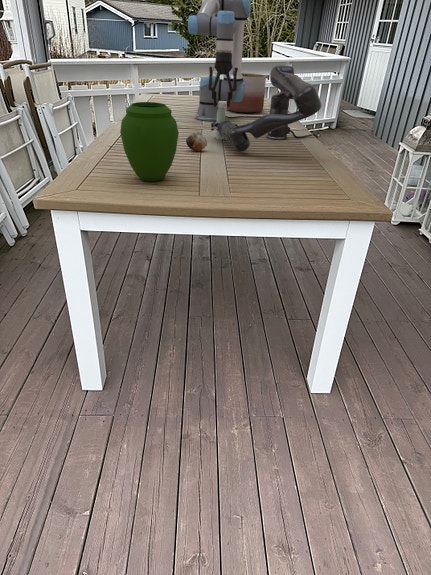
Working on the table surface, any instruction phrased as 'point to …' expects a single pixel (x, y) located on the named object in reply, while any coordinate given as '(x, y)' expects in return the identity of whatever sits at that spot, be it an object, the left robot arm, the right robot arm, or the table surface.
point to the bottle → (220, 121)
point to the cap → (221, 104)
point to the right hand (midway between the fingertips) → (219, 123)
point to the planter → (250, 95)
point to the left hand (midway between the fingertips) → (221, 106)
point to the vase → (149, 139)
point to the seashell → (196, 141)
